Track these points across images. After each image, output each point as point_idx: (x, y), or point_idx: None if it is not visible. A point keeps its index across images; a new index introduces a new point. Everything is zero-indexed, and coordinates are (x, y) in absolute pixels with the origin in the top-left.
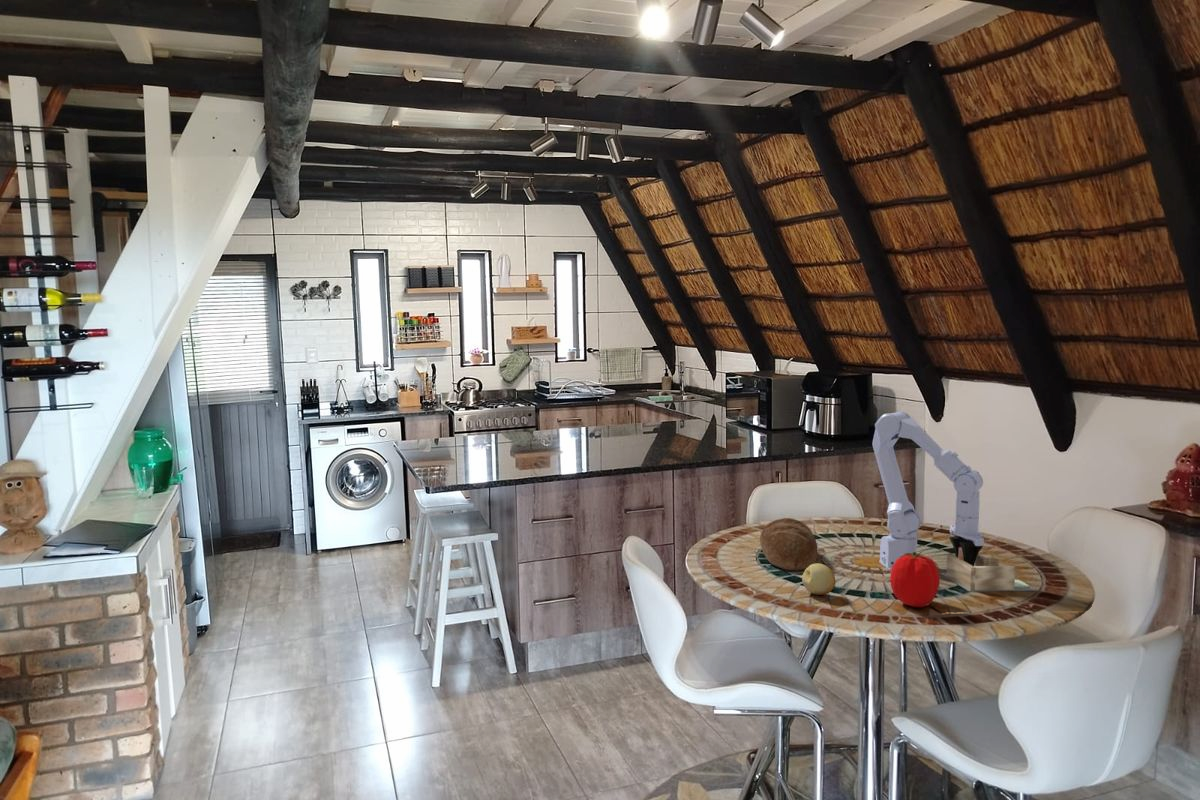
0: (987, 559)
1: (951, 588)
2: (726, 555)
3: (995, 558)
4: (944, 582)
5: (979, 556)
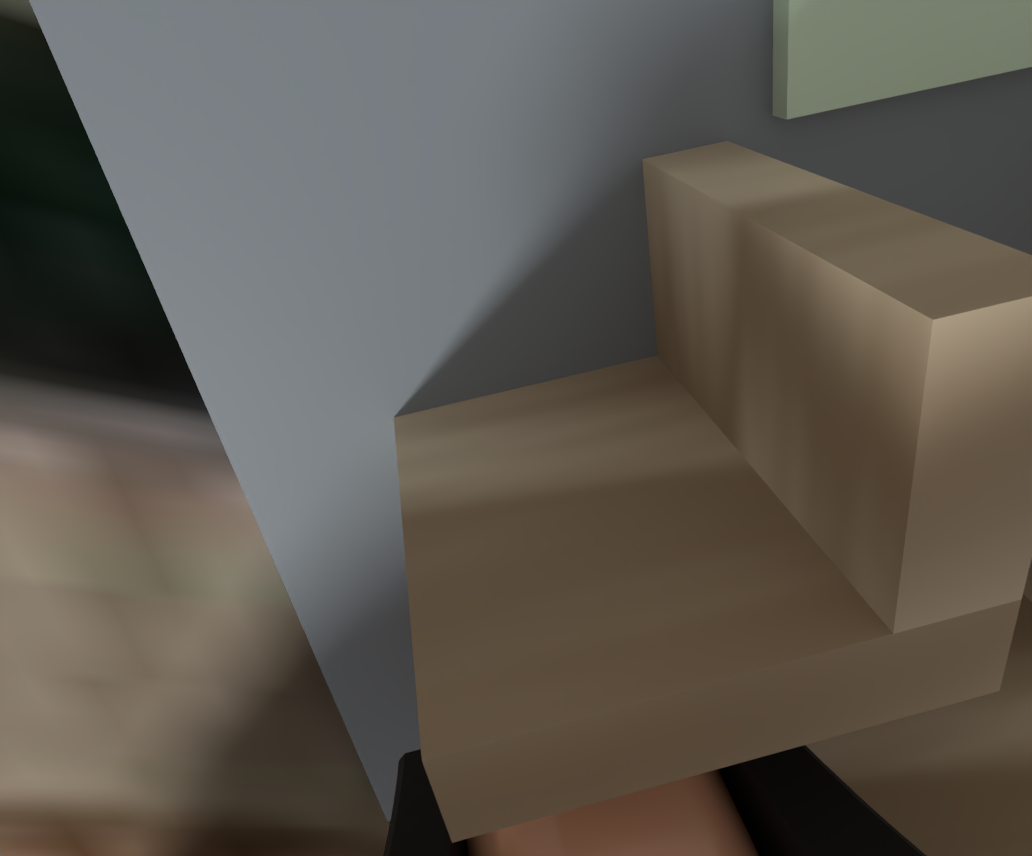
0: (1009, 616)
1: None
2: None
3: (1016, 400)
4: None
5: (746, 757)
